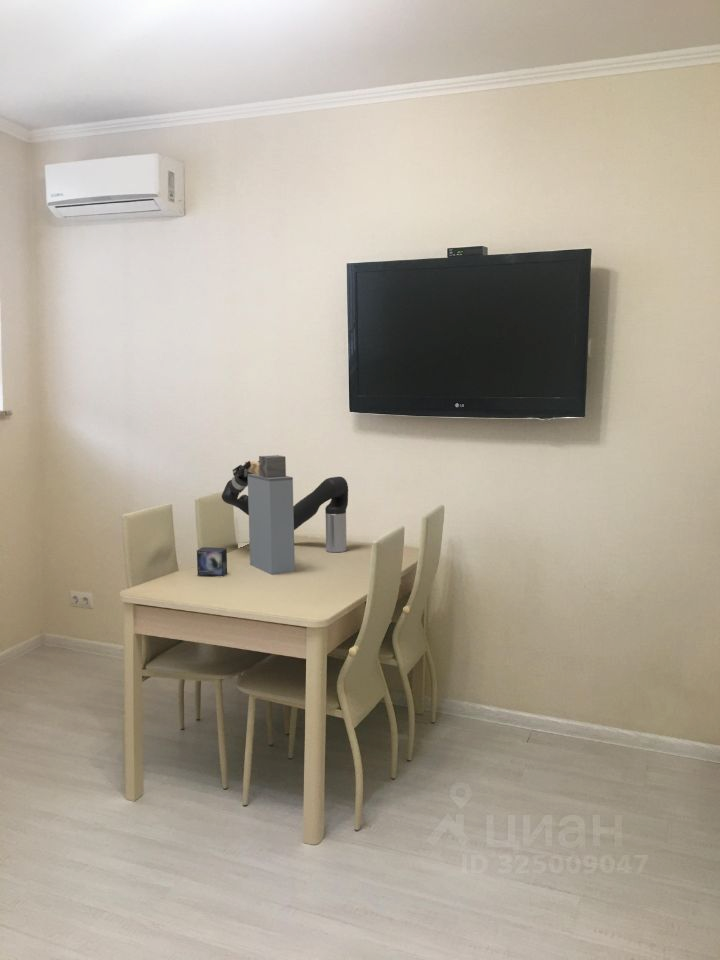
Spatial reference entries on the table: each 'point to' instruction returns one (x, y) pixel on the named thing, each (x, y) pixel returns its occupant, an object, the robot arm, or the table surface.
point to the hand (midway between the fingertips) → (254, 463)
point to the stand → (271, 523)
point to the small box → (212, 561)
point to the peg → (269, 466)
